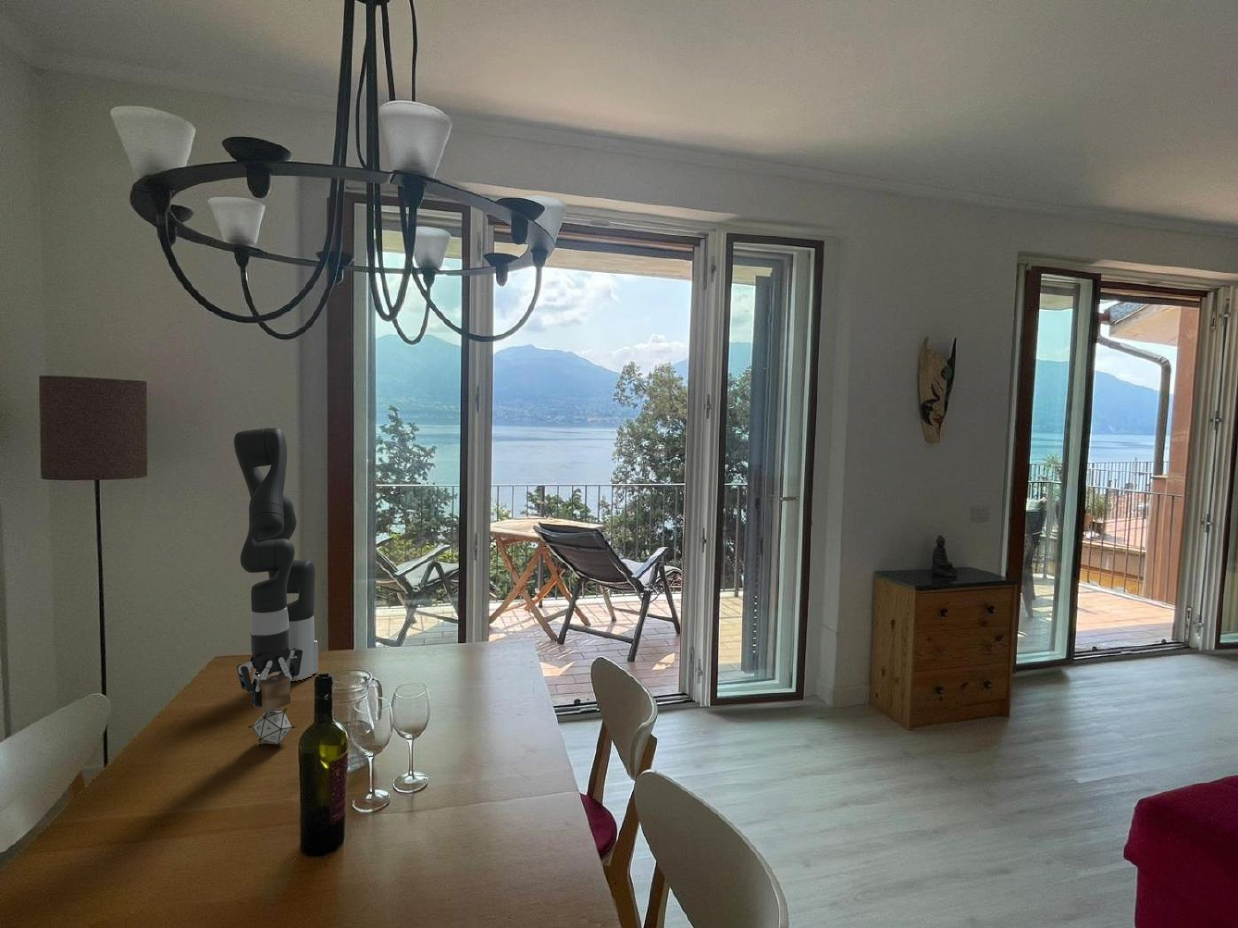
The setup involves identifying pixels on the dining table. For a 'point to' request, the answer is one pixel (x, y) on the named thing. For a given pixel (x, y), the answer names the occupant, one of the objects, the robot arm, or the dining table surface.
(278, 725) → the game die
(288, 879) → the dining table surface
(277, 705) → the wooden cube
